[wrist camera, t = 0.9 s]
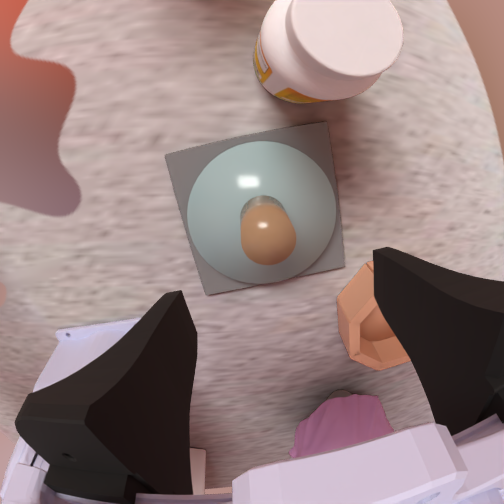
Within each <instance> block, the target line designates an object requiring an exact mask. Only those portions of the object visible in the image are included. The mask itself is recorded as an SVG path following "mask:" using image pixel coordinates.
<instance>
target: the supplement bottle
mask: <svg viewBox="0 0 504 504" xmlns="http://www.w3.org/2000/svg"><path fill="white" fill-rule="evenodd" d="M403 38H404V35H403V27H402V22H401V19H400V17H399V14H398V12H397V11H396V9H395V7H394V5H393V4H392V3H391V1H390V0H276V1H275V2H274V3H273V4H272V5H271V7H270V8H269V10H268V12H267V14H266V16H265V18H264V20H263V23H262V26H261V29H260V33H259V36H258V39H257V42H256V45H255V49H254V55H253V64H254V69H255V73H256V75H257V77H258V79H259V81H260V83H261V84H262V85H263V86H264V88H265V89H266V90H267V91H269V92H270V93H271V94H272V95H274V96H276V97H278V98H279V99H282V100H284V101H287V102H292V103H313V102H322V101H331V100H340V99H346V98H350V97H353V96H356V95H358V94H360V93H362V92H364V91H365V90H367V89H368V88H370V87H371V86H372V85H373V84H374V83H375V82H376V81H377V79H378V78H379V77H380V75H381V73H382V72H384V71H385V70H387V69H388V68H389V67H391V66H392V65H393V64H394V62H395V61H396V60H397V58H398V57H399V55H400V52H401V50H402V46H403Z"/></svg>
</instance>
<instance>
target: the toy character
mask: <svg viewBox="0 0 504 504" xmlns="http://www.w3.org/2000/svg"><path fill="white" fill-rule="evenodd" d="M392 432H394V430H393V428H392V427H391V426H390V423H389V421H388V420H387V418H386V415H385V412H384V410H383V407H382V404H381V402H380V400H379V399H378V396H371V395H358V394H353V395H352V394H351V393H349V392H348V391H345V390H336V391H334V392H333V393H332V394H331V395H330V396H329V397H328V398H327V400H326V401H325V402H324V403H322V404H321V405H320V406H319V407H318V408H317V410H316V411H314V412H313V413H312V414H311V415H310V416H309V418H307V419H305V420H302V421H301V422H300V423H299V425H298V427H297V428H296V432H295V443H294V447H293V448H292V449H291V450H290V451H289V454H290V456H291V457H292V458H297V457H302V456H307V455H312V454H316V453H321V452H325V451H330V450H334V449H338V448H342V447H346V446H349V445H353V444H357V443H360V442H364V441H367V440H370V439H374V438H377V437H380V436H383V435H386V434H389V433H392Z"/></svg>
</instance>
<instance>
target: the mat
mask: <svg viewBox="0 0 504 504" xmlns="http://www.w3.org/2000/svg"><path fill="white" fill-rule="evenodd" d="M252 141H273V142H279V143H282V144H286V145H289V146H291V147H293V148H296V149H297V150H299V151H301V152H302V153H304V154H306V155H307V156H308V157H310V158H311V159H312V160H313V161H315V163H316V164H317V165H318V166H319V167H320V168H321V169H322V171H323V172H324V173H325V175H326V176H327V178H328V180H329V182H330V184H331V186H332V189H333V192H334V196H335V201H336V222H335V226H334V231H333V233H332V236H331V239H330V241H329V243H328V245H327V247H326V248H325V250H324V251H323V252H322V254H321V255H320V256H319V257H318V259H317V260H316V261H315V262H314V263H313V264H311V265H310V266H309V267H308V268H306V269H305V270H304V271H302V272H301V273H299V274H297V275H295V276H293V277H291V278H295V277H299V276H304V275H309V274H313V273H318V272H322V271H327V270H331V269H336V268H340V267H345V263H344V251H343V239H342V229H341V219H340V210H339V201H338V193H337V185H336V177H335V170H334V163H333V156H332V149H331V143H330V137H329V131H328V125H327V122H319V123H312V124H305V125H299V126H293V127H287V128H281V129H276V130H270V131H265V132H260V133H255V134H250V135H245V136H240V137H235V138H231V139H226V140H222V141H217V142H213V143H209V144H205V145H201V146H197V147H193V148H189V149H185V150H181V151H177V152H173V153H170V154H166V155H165V159H166V163H167V166H168V170H169V174H170V178H171V181H172V185H173V189H174V192H175V196H176V199H177V203H178V206H179V210H180V213H181V217H182V220H183V224H184V227H185V230H186V234H187V237H188V240H189V244H190V247H191V250H192V254H193V257H194V260H195V263H196V267H197V270H198V273H199V276H200V279H201V282H202V285H203V288H204V292H205V295H210V294H215V293H221V292H226V291H231V290H236V289H241V288H246V287H251V286H256V285H261V284H255V283H246V282H241V281H238V280H235V279H232V278H230V277H227V276H225V275H223V274H222V273H220V272H219V271H217V270H215V269H214V268H213V267H212V266H211V265H209V264H208V263H207V262H206V261H205V259H204V258H203V257H202V256H201V255H200V253H199V252H198V250H197V249H196V247H195V245H194V243H193V241H192V238H191V235H190V232H189V227H188V220H187V209H188V202H189V197H190V194H191V191H192V188H193V186H194V184H195V182H196V180H197V178H198V176H199V175H200V173H201V172H202V171H203V169H204V168H205V167H206V166H207V165H208V164H209V162H210V161H211V160H213V159H214V158H215V157H216V156H218V155H219V154H220V153H222V152H224V151H225V150H227V149H229V148H231V147H234V146H236V145H239V144H242V143H246V142H252ZM288 279H290V278H288Z"/></svg>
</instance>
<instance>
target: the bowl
mask: <svg viewBox="0 0 504 504" xmlns="http://www.w3.org/2000/svg"><path fill="white" fill-rule="evenodd" d="M407 254H408V253H407ZM337 311H338V326H339V333H340V335H341V338H342V340H343V342H344V345H345V347H346V350H347V352H348V354H349V357H350V358H351V359H353V360H355V361H357V362H359V363H362V364H364V365H366V366H368V367H371V368H373V369H375V370H377V371H378V370H379V371H380V370H383V369H387V368H390V367H393V366H396V365H399V364H402V363H405V362H408V361H411V360H410V358H409V356H408V355H407V353H406V351H405V350H404V348H403V347H402V345H401V343H400V342H399V340H398V339H397V337H396V336H395V334H394V333H393V331H392V329H391V328H390V326H389V325H388V323H387V322H386V320H385V318H384V317H383V315H382V313H381V311H380V309H379V307H378V304H377V302H376V300H375V298H374V272H373V261H370V262H367V264H364V265H363V267H362V268H361V269H360V270H359V271H358V273H357V274H356V275H355V276H354V278H353V279H352V280H351V281H350V282H349V284H348V285H347V286H346V287H345V288H344V290H343V291H342V292H341V293H340V294H339V295H338V298H337Z"/></svg>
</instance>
